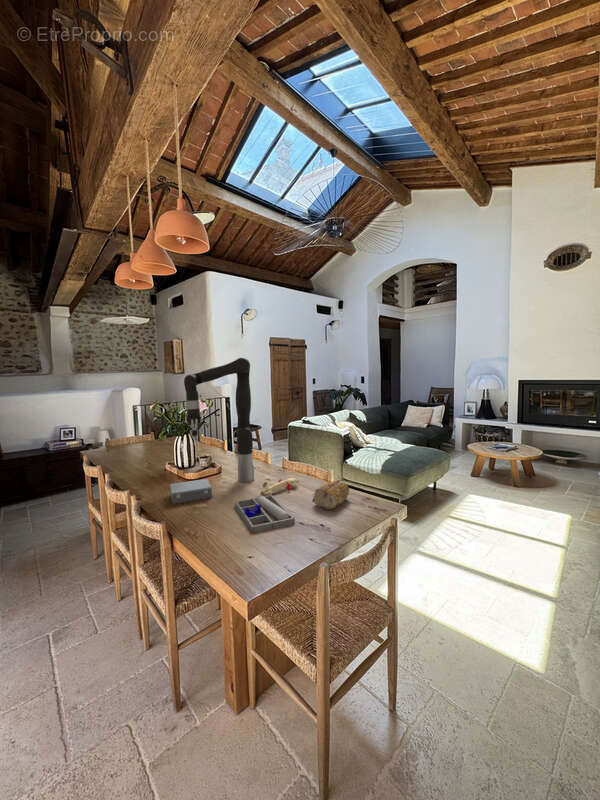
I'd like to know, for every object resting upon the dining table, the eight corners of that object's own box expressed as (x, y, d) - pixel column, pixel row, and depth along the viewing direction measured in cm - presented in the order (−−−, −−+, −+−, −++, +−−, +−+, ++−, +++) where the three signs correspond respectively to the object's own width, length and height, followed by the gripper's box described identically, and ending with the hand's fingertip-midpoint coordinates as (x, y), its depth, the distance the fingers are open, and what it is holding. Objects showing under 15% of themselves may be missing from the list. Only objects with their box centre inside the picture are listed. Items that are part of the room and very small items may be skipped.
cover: (207, 480, 197) (207, 478, 197) (211, 488, 184) (211, 487, 183) (170, 485, 189) (170, 484, 189) (172, 495, 175) (171, 493, 175)
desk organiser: (271, 499, 181) (271, 495, 181) (294, 523, 153) (294, 518, 153) (235, 506, 173) (235, 501, 173) (252, 532, 145) (252, 527, 145)
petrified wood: (330, 493, 188) (334, 476, 186) (351, 503, 180) (355, 486, 178) (310, 504, 172) (314, 486, 170) (332, 516, 165) (336, 497, 163)
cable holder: (248, 519, 157) (248, 511, 157) (244, 517, 160) (244, 509, 159) (262, 514, 163) (262, 506, 162) (258, 511, 165) (258, 504, 165)
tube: (293, 513, 156) (266, 495, 176) (283, 512, 153) (257, 494, 173) (290, 524, 155) (263, 506, 176) (280, 524, 152) (254, 505, 173)
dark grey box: (207, 489, 198) (207, 481, 197) (212, 498, 184) (211, 489, 184) (170, 495, 190) (170, 486, 189) (172, 504, 176) (172, 495, 176)
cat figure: (269, 501, 183) (303, 485, 200) (268, 485, 181) (302, 471, 198) (258, 496, 190) (291, 481, 207) (257, 481, 189) (290, 467, 205)
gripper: (182, 409, 200) (184, 438, 202) (205, 407, 205) (207, 436, 207) (181, 408, 207) (182, 436, 209) (203, 406, 212) (205, 433, 214)
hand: (194, 436), depth 208 cm, fingers closed
